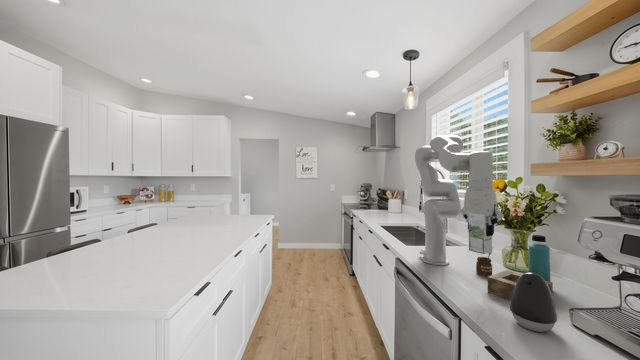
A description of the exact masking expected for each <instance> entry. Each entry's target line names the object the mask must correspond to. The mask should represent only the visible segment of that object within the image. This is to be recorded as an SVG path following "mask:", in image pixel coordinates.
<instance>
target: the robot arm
mask: <svg viewBox="0 0 640 360" xmlns="http://www.w3.org/2000/svg"><path fill="white" fill-rule="evenodd" d="M463 147H464V142H463V139H462V138H461V137H460V136H458V135H437V136H436V135H435V136H434V137H432V139H431V140H430V141H429V145H425V146H424V145H423V146H421V147H418V148H417V149H416V150H415V153H414V160H415V161H414V162H415V165H416V167H417V170H418V172H419V175H420V180H421V185H422V190H423V194H424V196H426V197H427V198H431V199H427V200H426V201H424V203H423V205H422V207H423V209H422V210H423V215H424V222H425V223H424V225H425V228H424V229H425V232H424V233H425V235H424V237H425V239H424V240H425V241H424V242H425V246H424V247H425V248H424V249H420V251H419V254H420V255H423V256H422V258H421V261H423V262H424V263H426V264H428V265H433V266H447V265H449V264H450V260H449V259H448V258H447V227H446V225H445V223H444V221H443V220H442V219H455V218H458V217H460V215H462V216H463V218H464V219H465V222H466V223H467V230H468V233H469V213H473V214H483V215H484V216H485V217H487V219H486V220H487V222H488V225H486V236H492V237H493V236H494V234H495V225H496V224H497V223H498V222H499V221H501V220H502V219H503V218H504V217H505V215H504V214H503V213H502V211H500V209H499V208H498V200H497V194H496V190H495V189H494V186H493V185H494V181H493V178H494V172H493V171H494V170H493V169H494V160H493V159H494V158H493V156H494V155H493V153H492V152H491V151H488V150H487V151H485V150H483V151H481V150H479V151H473V152H470V153H467V152H463V153H462V152H461V151H462V149H463ZM431 163H439V164H440V166H441V167H442V168H443V169H444V170H446V171H448V172H452V173H468V181H467V182H466V183H465V186H467V187H468V188H466V189H465V195H464V199H463V207H462V206H461V202H460V197H459V193H458V188H457V185H456V183H455V182H454V181H453V180H451V179H440V178H439V174H438V170H437V169H436V167H434V165H433V164H431Z"/></svg>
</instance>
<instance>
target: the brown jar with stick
mask: <svg viewBox="0 0 640 360" xmlns="http://www.w3.org/2000/svg"><path fill="white" fill-rule="evenodd" d="M491 254H492V252H491V253H487V255H488V256H487V257H486V256H481V253H478V256H477V259H476V265H475V269H476V270H475V271H476V274H477V275H479V276H481V277H486V278H488V276H491V275H493V264H492V259H491V258H490V255H491Z"/></svg>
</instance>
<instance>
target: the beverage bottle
mask: <svg viewBox="0 0 640 360" xmlns="http://www.w3.org/2000/svg"><path fill="white" fill-rule="evenodd" d="M531 241H532V243H530V244H529V245H528V271H527V272H533V273H536V274H538V275H540V276H541V277H542V278H543V279H544V280H546V281H549V282H552V281H551V280H552V279H551V277H552V275H551V261H550V259H551V257H550V254H551V253H550V250H551V248H550V247H549V246H548V245H547V244H544V243H547V240H546V236H545V235H542V234H541V235H540V234H533V235H532V237H531Z"/></svg>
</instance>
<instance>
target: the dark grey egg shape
mask: <svg viewBox="0 0 640 360" xmlns="http://www.w3.org/2000/svg"><path fill="white" fill-rule="evenodd" d="M521 274H522V275H521V276H520V278H519V279H518V281H517V282H516V285H515V287H514V290H513V293H512V297H511V301H509V303H510V304H509V308H510V309H509V310H510V311H511V315H512V317H513V319H514V320H515V321H516V322H517V323H518V324H519V325H520V326H521V327H523V328H525V329H527V330H530V331H533V332H537V333H546V332H549V331H550V330H552V329H553V328H554V327H555V324H556V323H557V321H558V314H557V313H558V312H557V308H556V304H555V301H554V297H552V294H551V291H550V289H549V287H548V285H547V283H546V282H545V280H544V279H543V278H542V277H541V276H540V275H538V274H536V273H533V272H528V271H527V272H524V273H521Z"/></svg>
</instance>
